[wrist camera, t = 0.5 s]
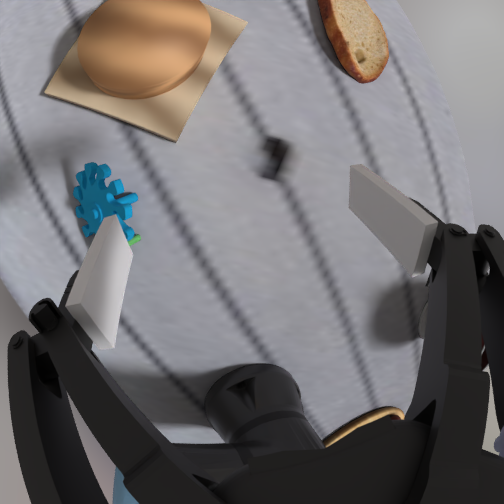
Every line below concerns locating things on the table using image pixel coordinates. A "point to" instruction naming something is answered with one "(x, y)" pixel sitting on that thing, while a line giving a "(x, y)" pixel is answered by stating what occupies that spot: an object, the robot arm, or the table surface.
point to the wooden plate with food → (365, 422)
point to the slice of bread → (356, 37)
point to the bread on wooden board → (146, 61)
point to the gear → (102, 200)
